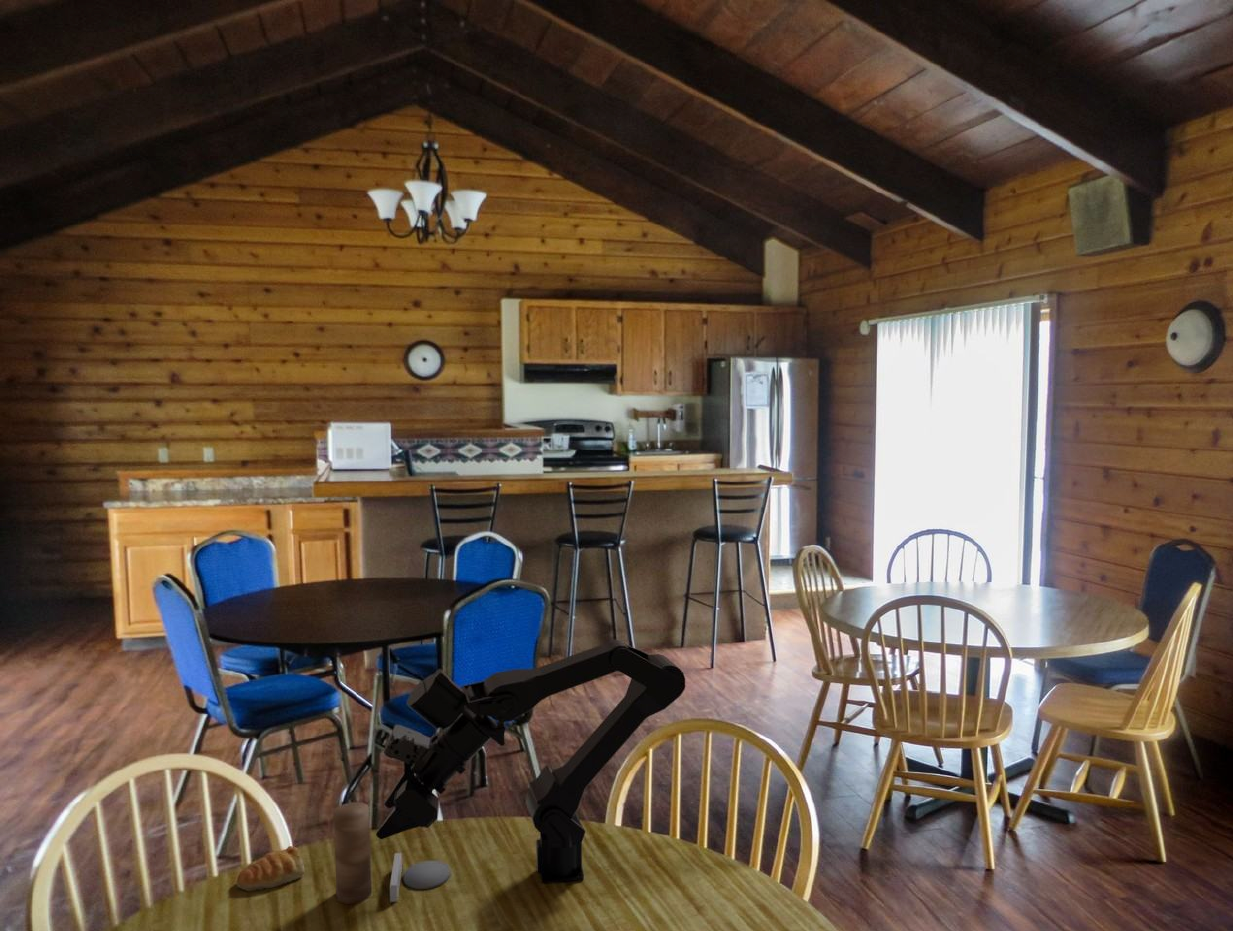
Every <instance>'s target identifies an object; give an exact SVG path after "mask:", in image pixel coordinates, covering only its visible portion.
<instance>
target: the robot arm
mask: <svg viewBox="0 0 1233 931" xmlns="http://www.w3.org/2000/svg"><path fill="white" fill-rule="evenodd" d="M616 672H618V673H621V674H624V675H625V676H627V677H629V678H630V682H629V684H628V686H627V689H626V693H625V695H624V697H623V698H622V699H621V700H620V701H619V703H618V704H617V705H616V706H615V707H614V708H613V709H612V710H611V712H610V713H609V714H608V715H607V716H606V717H605V719H603V721H601V723H600V724H599V725H598V726H597V728H595V730H594V731H593V732H592V733H591V734H590V735H589V737H588V738H587V739H586V740H585V741H584V742H583V743H582V744H581V746H579V748H578V749H577V750H576V752H574V754H572V756H571V757H570V758H569V760H568V761H566V763H565V764H564V765H562V766H561V767H558V768H556V769H553V770H552V769H551V768H550V766H549V765H546V766H544V767H543V769H541V772H540V773H539V774H538V776H537V777H536V778H535V779H534V780H532V781H530V782H529V783H528V785H529V787H530V788H529V789H528V791H527V792H526V795H525V805H526V807H527V810H528V813H529V815H530V818H531V821H532V823H533V826H534V827H535V829H536V831H538V832H539V839H536V840H535V844H536V845H535V850H536V852H535V856H536V858H535V859H536V862H535V864H536V871H537V873H538V874H539V875H540V880H541V883H543V884H547V883H549V884H550V883H558V882H570V881H579V880H583V879H585V874H584V869H583V847H582V846H583V844H582V843H583V841H584V840H583V839H584V837H585V834H586V829H585V828H584V826H583V824H582V822H581V820H580V817H579V816H578V814H577V811H578V809H579V807H580V804H581V801H582V798H583V796H584V793H585V791H586V788H587V787H588V786H589V785H590V784H591V783H592V781H593V780H594V779H595V778H596V777H597V775H598V774H599V773H600V772H601V771H602V770H603V769H604V768H605V766H606V765H607V764H608V763H609V762H610V761H611V760H612V758H614V756H615V755H616V753H617V752H618V751H619V750H620V749H621V748H622V747H623V746H624V745H625V743H626V742H627V741H628V740H629V739H630V738H631V737H632V736H633V734H634V733H635V732H636V731H637V730H638V728H639V727H640V726H641V725H642V724H643V723H644V722H645V720H646V719H648V718H650V717H651V716H654V715H655V714H658V713H659V712H662V711H665V709H667V708H668V707H669V706H670V705H671V704H673V703H674V702H675V701H676V700H678V699H679V698H680V697H681V696H682V694H683V692H684V691H685V689H686V677H685V674H684V672H683V671H682V670H681V668H679V667H678V666H677V665H676V664H675V663H674V662H673V661H671V660H670V659H669V657H667V656H665V655H664V654H660V653H655V654H648V653H647V652H644V651H642V650H641V649H638V648H635V647H633V646H631V645H627V644H625V643H624V642H623V641H621V640H620V639H610V640H608V641H607V642H605V643H603V644H600V645H597V646H595V647H592V648H589V649H586V650H583V651H581V652H577V653H576V654H572V655H570V656H568V657H565V658H561V659H559V660H556V661H553V662H550V663H548V664H546V665H542V666H540V667H535V668H534V667H533V668H529V669H528V668H517V669H515V668H514V669H509V670H505V671H499V672H495V673H493V674H490V675H489V676H488V677H486V678H485V680H481V681H476V682H473V683H468V684H464V685H461V686H459V685H458V684H457V683H456V682H455V681H453V680H452V679H451V678H450V676H448V674H447V673H446V672H445V671H443V669H441V668H439V669H437V670H436V672H435V673H433V674H432V673H431V674H430V675H428V676H427V677H426V678H424V679H422V680H420V682H419V683H418V684H417V685H416V686H415V687H414V689H413V690H412V691H411V693H410V694H409V696H408V698H407V701H406V706H408V708H410V709H412V711H414V712H415V713H416V714H417V715H419V717H421V718H422V719H424V720H425V721H426V722H427V723H428V724H429V725H431V726H432V727H433V728H434V729H435V730H437V729H440V728H441V729H442V730H444V731H443V732H440V730H439V731H438V732H434V734H433V735H432V736H431V737H429V736H426V735H424V734H423V733H421V732H419V731H417V730H413V729H412V728H409V727H407V726H403V725H401V724H395V725H394V726H393V729H392V730H391V734H390V736H388V740H387V742H386V744H385V748H384V750H383V755H384V756H386V757H388V758H389V759H394V760H397V761H400V762H403V770H404V771H403V772H402V775H401V776H400V777H399V779H398V781H397V782H396V784H395V785H394V787H393V789H392V790H391V791H390V794H389V795H388V797H387V799H386V800H385V802H384V806H385V807H386V808H387V809H391V808H393V809H392V810H391V812H390V813H389V814H388V816H387V818H386V819H385V820H384V821H383V822H382V824H381V826H380V827H379V828H378V830H377V832H376V833H375V836H376V837H377V838H378V839H379V840H383V839H386V838H389V837H392V836H395V835H397V834H401V833H403V832H406V831H409V830H412V829H416V828H424V829H425V828H427V829H429V828H430V827H431V826H432V825H433V824H434V823H435V822H436V820H438V818H439V811H440V810H439V809H440V798H439V797H438V796H437V795H436V794H434V793H433V791H434V790H435V791H436V792H437V793H439V794H440V795H442V794H443V793H444V792H446V790H447V784H448V783H449V782H450V781H451V780H452V779H453V778H454V777H455V776H456V775H457V773H459V774H460V775H462V774H463V773H464V772H465V771H466V769H467V768H466V767H467V764H468V763H469V762H470V760H471V759H473V757H474V756H476V755H477V753H478V752H479V751H480V750H481V749H482V748H483V747H484V746H485V745H486V744H487V743H488V742H489V741H490V740H491V739H492V740H493V741H494V742H496V744H498V745H499V746H501V747H503V746H505V745H506V742H505V741H506V740H505V733H506V729H507V727H506V723H507V722H513V721H515V720H516V719H517V718H520V717H522V716H523V715H525V714H527V713H529V712H530V711H531V710H533V709H534V708H535V707H536V706H537V705H539V704H540V703H541V702H542V701H543V700H545V699H547V698H549V697H551V696H553V695H556V694H559V693H562V692H564V691H567V690H570V689H572V688H576V687H578V686H581V685H583V684H585V683H588V682H591V681H595V680H596V679H600V678H602V677H605V676H608V675H610V674H613V673H616Z"/></svg>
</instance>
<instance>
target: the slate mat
mask: <svg viewBox="0 0 1233 931" xmlns="http://www.w3.org/2000/svg"><path fill="white" fill-rule="evenodd" d="M450 868H451V867H450V866H449V865H447V864H446V863H445V862H443V861H439V860H424V861H420V862H418V863H415V864H413V865H411V866H409V867H408V868H407V869H405V871H404V872H403V882H404V884H405V885H406V886H407V887H409V888H411V889H416V890H428V889H429V890H430V889H433V888H437V887H440V886H441V885H443V884H445V883H446V882H447V881H448V880H449V878H450V876H451V869H450Z"/></svg>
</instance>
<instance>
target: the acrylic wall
mask: <svg viewBox="0 0 1233 931" xmlns="http://www.w3.org/2000/svg"><path fill="white" fill-rule="evenodd" d="M402 868H403V860H402V852H395V853H394V856H393V863H392V868H391V869H392V870H391V877H390V884H389V902H390V903H395V902H398V899H399V893H400V892H399V891H400V884H401V876H402V870H403V869H402Z"/></svg>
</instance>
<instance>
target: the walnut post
mask: <svg viewBox="0 0 1233 931" xmlns="http://www.w3.org/2000/svg"><path fill="white" fill-rule="evenodd" d="M370 829H371V828H370V807H369V805H368V804H366V803H364V802H353V801H352V802H347V803H343V804H341V805H339V806H337V807H336V808H335V809H334V810H333V833H334V834H333V836H334V837H333V839H334V864H335V865H334V866H335V869H334V870H335V891H336V892H335V894H336V900H337V902H339V903H341V904H345V905H351V904H352V905H355V904H358V903H361V902H363V901H366V900H367V899H368V898H369V897H370V896H371V895H372V865H371V864H372V863H371V838H370V837H371V836H370V834H371V832H370Z"/></svg>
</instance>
